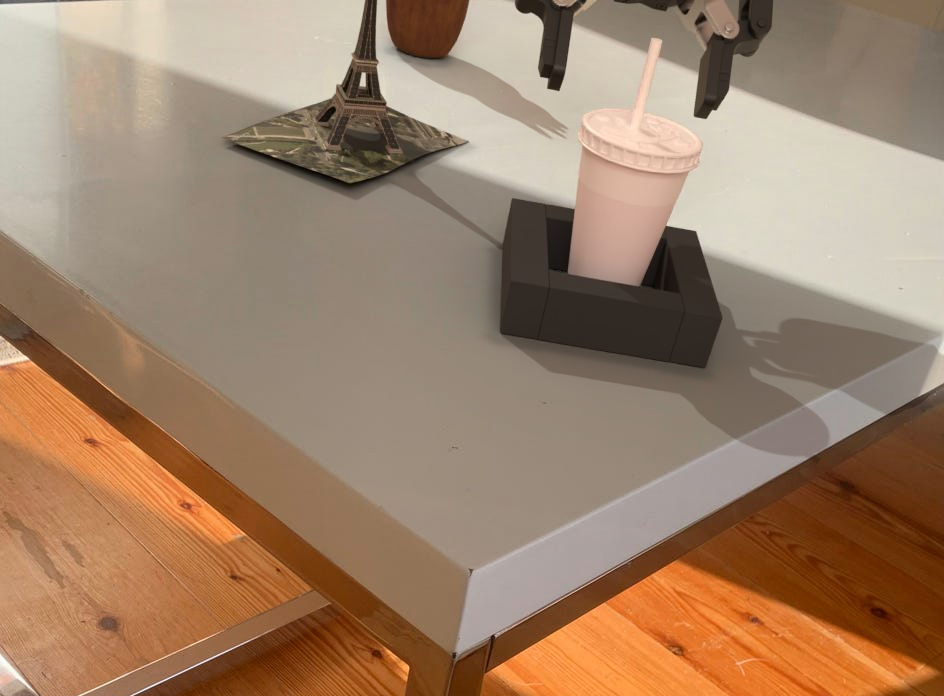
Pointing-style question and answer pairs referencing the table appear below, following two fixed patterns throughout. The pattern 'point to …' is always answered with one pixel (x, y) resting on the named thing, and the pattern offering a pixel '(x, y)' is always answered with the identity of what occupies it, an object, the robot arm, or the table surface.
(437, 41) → the wooden figurine
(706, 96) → the robot arm
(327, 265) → the table surface
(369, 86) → the eiffel tower figurine
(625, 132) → the smoothie
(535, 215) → the dark square frame
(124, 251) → the table surface
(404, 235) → the table surface
